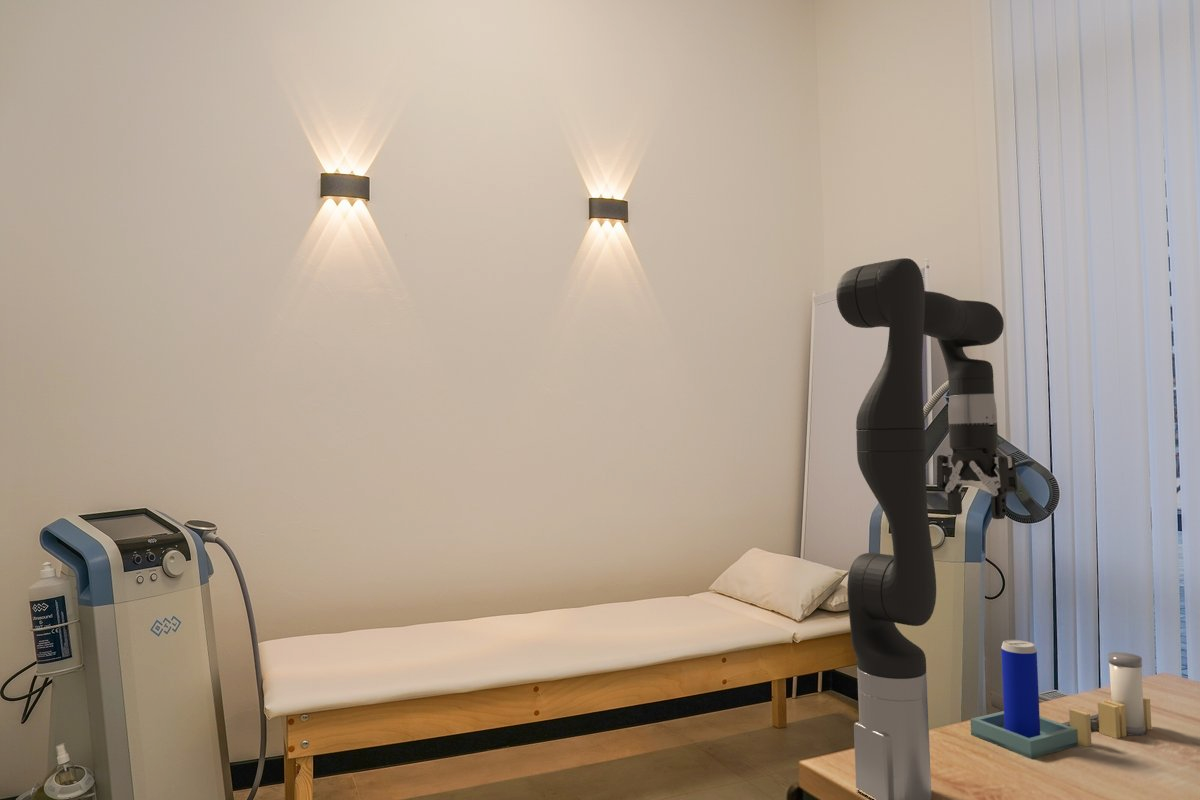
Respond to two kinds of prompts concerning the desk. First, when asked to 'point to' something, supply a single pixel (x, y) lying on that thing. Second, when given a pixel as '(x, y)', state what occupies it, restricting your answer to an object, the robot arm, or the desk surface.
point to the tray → (1047, 742)
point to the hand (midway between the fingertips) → (976, 516)
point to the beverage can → (1020, 688)
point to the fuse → (1128, 689)
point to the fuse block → (1104, 720)
